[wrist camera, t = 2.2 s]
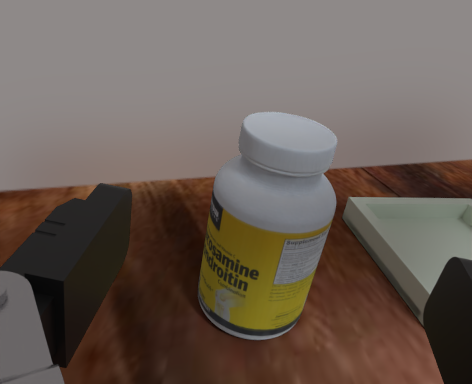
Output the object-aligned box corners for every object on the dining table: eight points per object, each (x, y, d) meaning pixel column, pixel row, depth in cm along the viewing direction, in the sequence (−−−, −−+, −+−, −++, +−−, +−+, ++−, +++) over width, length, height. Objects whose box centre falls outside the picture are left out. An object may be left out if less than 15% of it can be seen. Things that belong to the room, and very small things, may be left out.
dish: (460, 217, 41) (470, 198, 40) (575, 318, 31) (592, 295, 30) (341, 217, 38) (348, 197, 37) (427, 331, 27) (440, 306, 26)
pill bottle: (189, 269, 29) (212, 100, 23) (282, 267, 31) (324, 109, 25) (205, 350, 23) (239, 156, 18) (316, 342, 25) (380, 162, 19)
